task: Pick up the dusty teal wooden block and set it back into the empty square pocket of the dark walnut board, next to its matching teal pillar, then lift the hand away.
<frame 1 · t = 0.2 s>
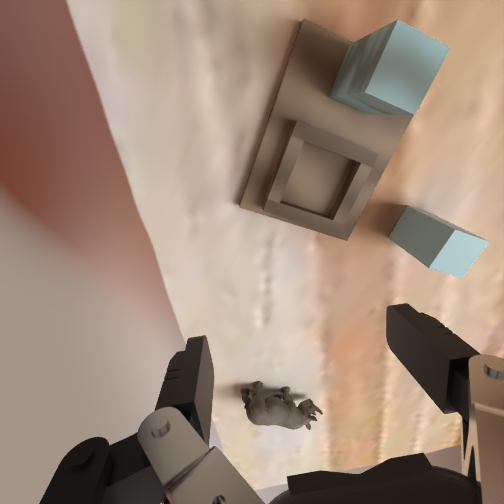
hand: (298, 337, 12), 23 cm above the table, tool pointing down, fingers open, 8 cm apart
teal block: (412, 226, 36), on the table
walnut board: (326, 147, 31), on the table
rhino figurine: (280, 391, 48), on the table
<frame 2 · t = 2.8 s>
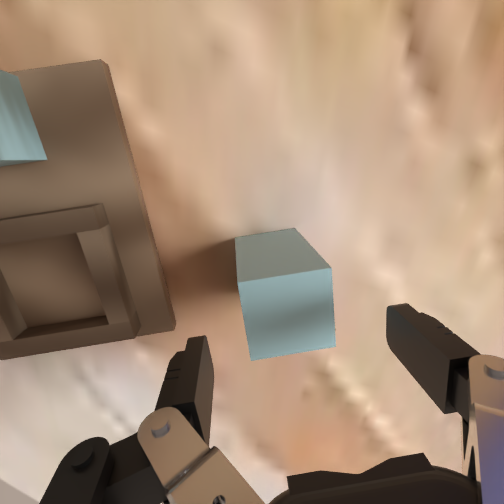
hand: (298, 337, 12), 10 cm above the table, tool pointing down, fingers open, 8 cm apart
teal block: (268, 261, 22), on the table
walnut board: (46, 228, 20), on the table
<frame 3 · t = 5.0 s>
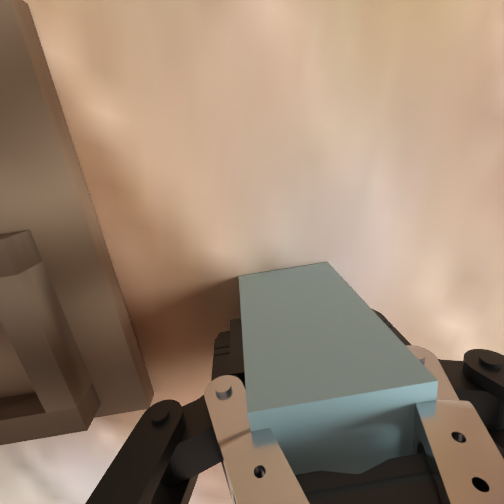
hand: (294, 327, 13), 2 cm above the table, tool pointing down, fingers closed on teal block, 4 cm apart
teal block: (287, 308, 15), on the table, touching gripper
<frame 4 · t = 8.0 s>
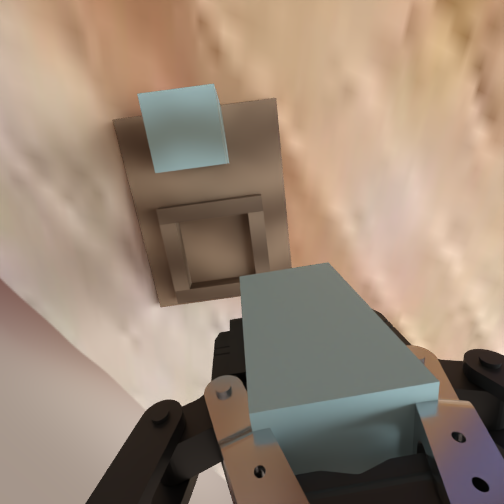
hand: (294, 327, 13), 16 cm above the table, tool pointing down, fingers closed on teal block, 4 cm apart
teal block: (288, 308, 15), point 15 cm above the table, touching gripper
walnut board: (213, 211, 28), on the table
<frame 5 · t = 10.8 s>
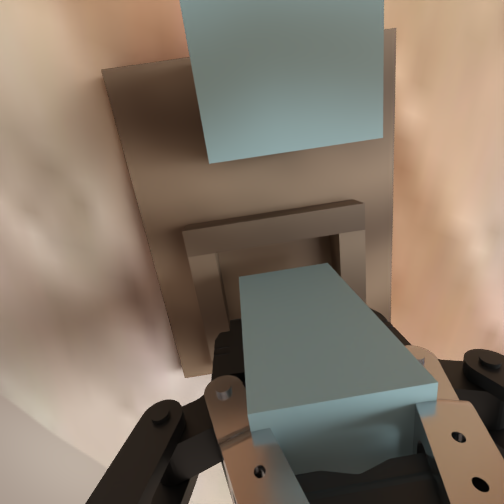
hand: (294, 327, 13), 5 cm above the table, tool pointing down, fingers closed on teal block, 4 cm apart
teal block: (287, 309, 15), point 4 cm above the table, touching gripper
walnut board: (270, 228, 17), on the table
when the fingers open (5 cm above the table, at t = 11.5 s): teal block drops 3 cm, resting on walnut board.
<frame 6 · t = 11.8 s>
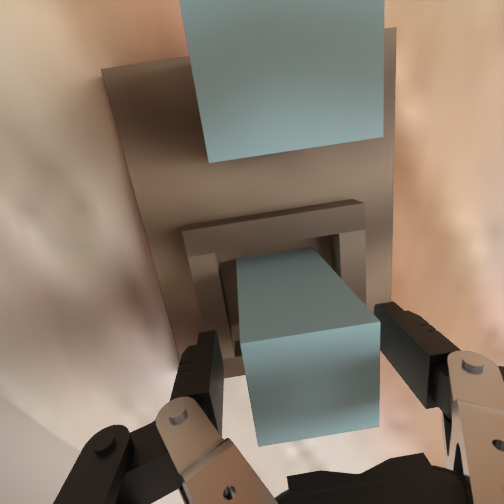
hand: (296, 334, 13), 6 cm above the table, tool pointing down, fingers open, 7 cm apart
teal block: (278, 287, 17), point 1 cm above the table, touching walnut board
walnut board: (270, 228, 17), on the table
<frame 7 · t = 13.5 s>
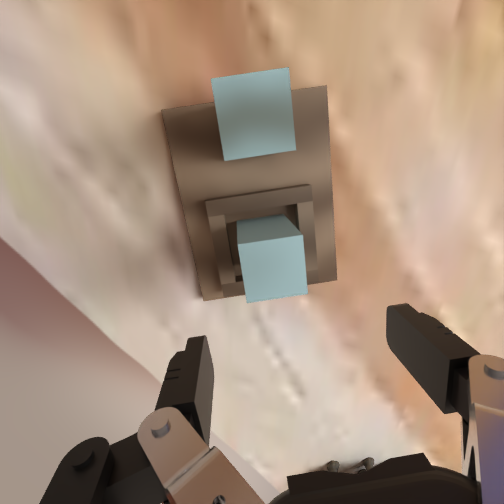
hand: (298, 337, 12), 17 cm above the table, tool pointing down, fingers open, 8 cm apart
teal block: (263, 239, 28), point 1 cm above the table, touching walnut board
walnut board: (258, 202, 27), on the table
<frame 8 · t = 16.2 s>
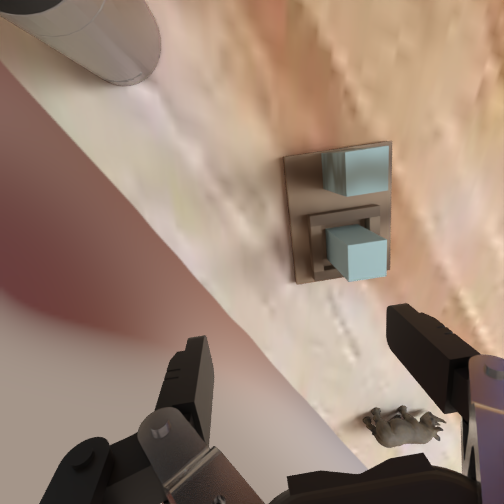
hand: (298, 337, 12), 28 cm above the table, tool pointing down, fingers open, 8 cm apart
teal block: (341, 241, 40), point 1 cm above the table, touching walnut board
walnut board: (338, 216, 40), on the table
rhino figurine: (397, 411, 53), on the table
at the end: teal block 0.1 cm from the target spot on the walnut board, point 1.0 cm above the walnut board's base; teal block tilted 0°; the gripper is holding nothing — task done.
